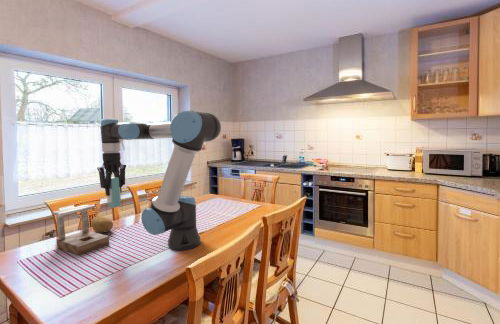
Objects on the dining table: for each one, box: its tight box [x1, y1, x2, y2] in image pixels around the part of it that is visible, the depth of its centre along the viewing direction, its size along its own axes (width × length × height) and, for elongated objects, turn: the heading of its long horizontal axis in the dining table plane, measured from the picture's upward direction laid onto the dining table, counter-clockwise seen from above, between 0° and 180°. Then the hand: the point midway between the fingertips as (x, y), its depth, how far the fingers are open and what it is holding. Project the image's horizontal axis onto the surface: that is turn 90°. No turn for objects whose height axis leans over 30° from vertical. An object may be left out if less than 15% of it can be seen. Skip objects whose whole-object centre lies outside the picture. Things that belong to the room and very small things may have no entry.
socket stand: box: [52, 204, 110, 256], centre depth 129 cm, size 18×15×17 cm
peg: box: [107, 176, 121, 209], centre depth 130 cm, size 4×4×14 cm
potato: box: [90, 216, 114, 234], centre depth 148 cm, size 10×14×8 cm
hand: (114, 201), depth 131 cm, fingers closed on peg, 4 cm apart
